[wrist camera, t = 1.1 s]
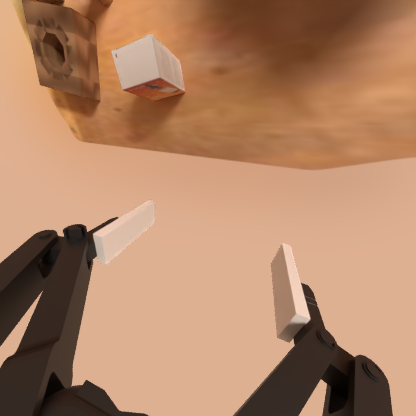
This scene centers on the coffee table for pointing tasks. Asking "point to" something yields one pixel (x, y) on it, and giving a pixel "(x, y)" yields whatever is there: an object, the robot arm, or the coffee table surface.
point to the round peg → (106, 2)
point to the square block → (50, 1)
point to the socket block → (63, 48)
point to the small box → (148, 69)
